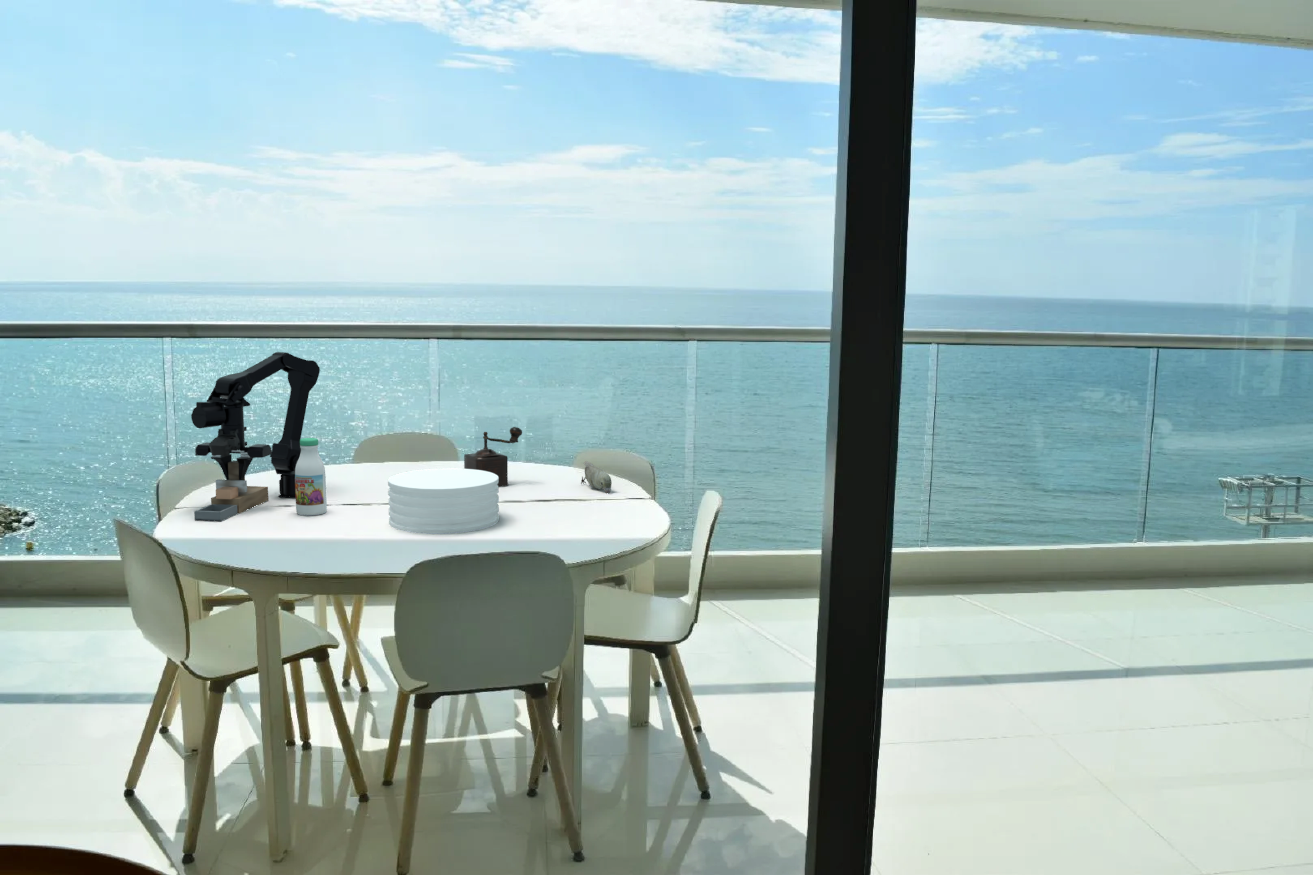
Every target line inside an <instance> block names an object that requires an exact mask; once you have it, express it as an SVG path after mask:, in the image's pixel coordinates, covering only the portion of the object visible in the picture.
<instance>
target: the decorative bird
mask: <svg viewBox="0 0 1313 875" xmlns="http://www.w3.org/2000/svg"><path fill="white" fill-rule="evenodd" d="M583 466H585V468H584V477H583V476H581V482H580V484H581V485H583V484H584V483H585V484H587V483H588V484H589V485H590V486H591V487H592V488H594V489H596V490H604V492H605V493H606V494H607V493H610V492H611V488H612V477H611V476H610V475H609V473H607V472H606V471H604V470H603V469H602V468H600V467H598V466H596V465H594V464H593V463H592V462H590V461H587V460H586V461H584V462H583ZM585 480H586V481H585ZM585 484H584V485H585Z"/></svg>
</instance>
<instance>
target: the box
mask: <svg viewBox="0 0 1313 875" xmlns="http://www.w3.org/2000/svg"><path fill="white" fill-rule="evenodd" d="M236 514H237V515H239V514H238V513H237V505H224V504H211V503H210V504H208V505H206V506H203V507H201V508H199V509H197V510H194V511H193V515H194V522H216V523H217V522H221V523H222V522H223V521H225V520H229V519H230V518H233V517H235V516H237V515H236Z"/></svg>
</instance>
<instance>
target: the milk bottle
mask: <svg viewBox="0 0 1313 875" xmlns="http://www.w3.org/2000/svg"><path fill="white" fill-rule="evenodd" d="M318 447H319V439H318V438H316V437H305V438H301V439H300V448H301V453H300V457H299V459H298V462H297V464H296V468H295V493H296V498H295V510H296V514H297V515H300V516H318V515H323V514H325V513H326V512H327V510H328V509H327V508H328V507H327V505H328V504H327V482H326V481H327V480H326V477H327V476H326V467H325V465H324V464H325V463H324V461H323V460H322V458H321V456H320V454H319V450H318Z"/></svg>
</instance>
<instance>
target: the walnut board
mask: <svg viewBox="0 0 1313 875" xmlns="http://www.w3.org/2000/svg"><path fill="white" fill-rule="evenodd" d="M269 500H270V499H269V486H261V485H260V486H258V485H257V486H256V485H255V486H254V485H247V492H238V497H235V498H233V499H216V495H215V496H212V497H211V498H210V505H211V504H224V505H237V513H238V514H237V515H239V514H242V513H244V512H247V511H248V510H247V509H249V510H251V509H253V508H255V507H254V506H256V505H258V506H260V505H262V504H264V503H263V502H265V501H267V502H269ZM261 503H262V504H261ZM265 503H266V502H265ZM252 507H253V508H252ZM256 507H257V506H256ZM246 510H247V511H246Z"/></svg>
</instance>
